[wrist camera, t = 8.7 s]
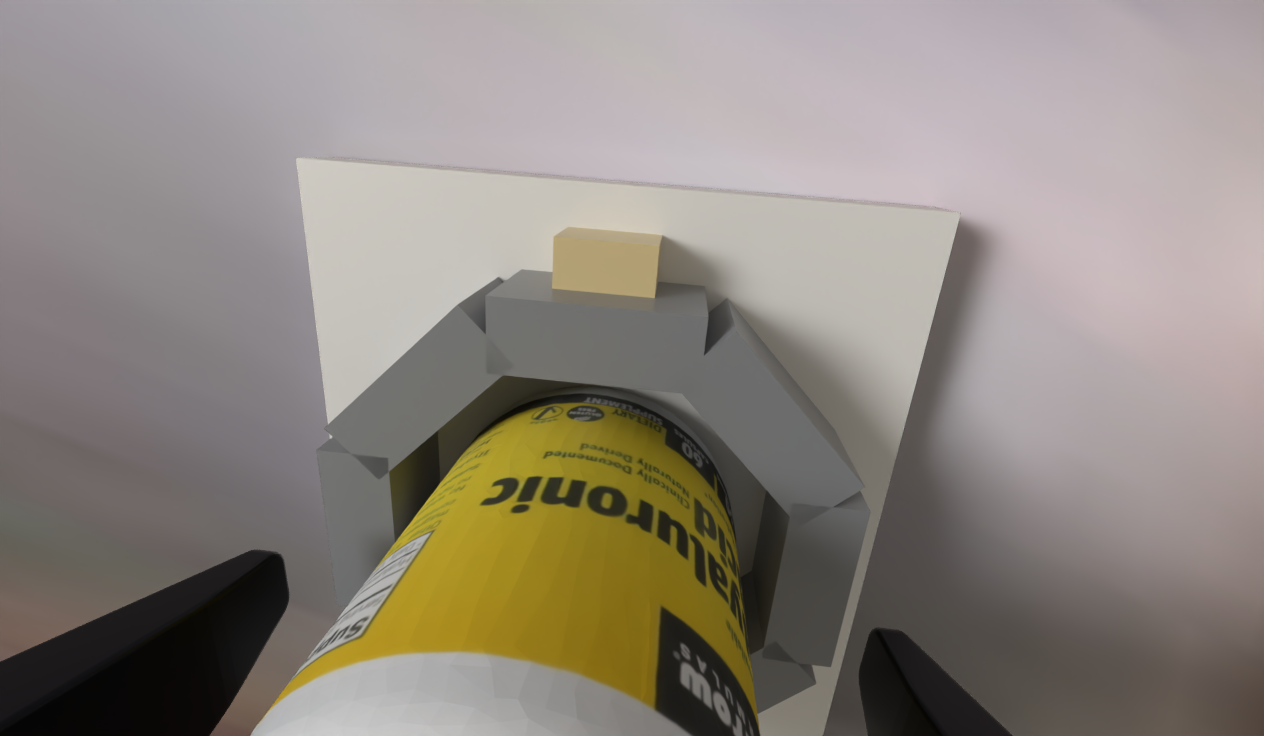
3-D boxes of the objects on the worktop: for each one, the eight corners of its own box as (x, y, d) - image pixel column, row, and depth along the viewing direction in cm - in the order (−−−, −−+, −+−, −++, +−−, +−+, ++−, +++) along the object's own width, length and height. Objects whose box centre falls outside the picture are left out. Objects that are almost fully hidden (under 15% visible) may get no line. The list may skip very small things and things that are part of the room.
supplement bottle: (788, 484, 11) (1223, 1906, 2) (623, 648, 13) (476, 1807, 4) (559, 317, 11) (-274, 1406, 1) (415, 515, 12) (-364, 1566, 3)
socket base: (811, 707, 15) (841, 840, 12) (379, 651, 15) (309, 765, 12) (936, 206, 10) (1028, 228, 8) (329, 156, 11) (205, 159, 8)
